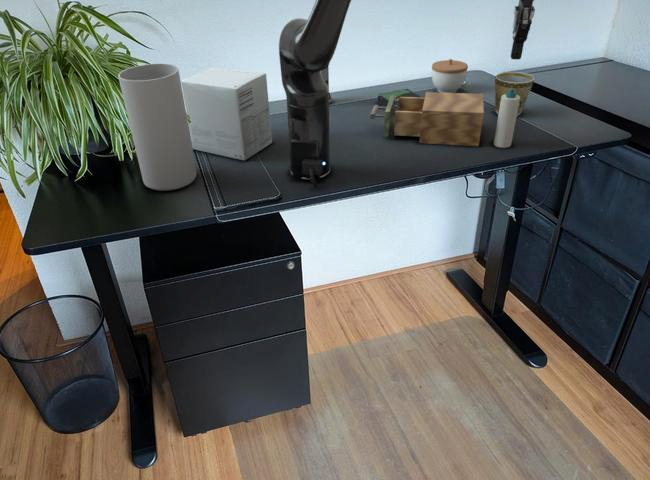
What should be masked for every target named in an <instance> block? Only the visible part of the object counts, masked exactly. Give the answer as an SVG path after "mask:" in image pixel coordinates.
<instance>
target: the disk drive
mask: <svg viewBox="0 0 650 480" xmlns="http://www.w3.org/2000/svg"><path fill="white" fill-rule="evenodd" d="M391 95H395V111H399V102H400V97H419V98H423V97H422V96H420V95H418V94H417V93H415V92H414V91H412V90H410V89H409V88H405V89H399V90H393V91H388V92H383V93H381V92H380V93H378V95H377V102H378V103H379V104H380V105H382V107H387V105H388V102H389V99H390V97H391ZM394 115H395V113H394Z"/></svg>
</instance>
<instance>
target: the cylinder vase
mask: <svg viewBox="0 0 650 480" xmlns="http://www.w3.org/2000/svg"><path fill="white" fill-rule="evenodd" d="M117 77H118V81H119V86H120V91H121V95H122V98H123V103H124V106H125V112H126V116H127V119H128V123H129V128H130V133H131V136H132V140H133V144H134V145H133V146H134V149H135V153H136V157H137V162H138V165H139V170H140V174H141V179H142V182H143V185H144V186H145V187H146V188H149V189H150V190H153V191H161V192H168V191H174V190H179V189H182V188H184V187H187V186H189V185H190V184H192V183H193V182H194V181H195V180H196V178H197V168H196V163H195V156H194V150H193V148H192V142H191V136H190V130H189V125H188V118H187V113H186V107H185V101H184V95H183V89H182V84H181V81H182V80H181V75H180V69H179V67H178V66H177V65H175V64H170V63H147V64H140V65H135V66H132V67H128V68H126V69H124V70H121V71H120V72H119V73H118V74H117Z"/></svg>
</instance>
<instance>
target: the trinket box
mask: <svg viewBox="0 0 650 480" xmlns="http://www.w3.org/2000/svg"><path fill="white" fill-rule="evenodd" d="M468 68H469V65H468V63H466V62H464V61H460V60H453V58H449V59H445V60H439V61H435V62H433V63H432V64H431V82H432V85H433V86H434V88H435V89H436V91H437V92H440V93H457V91H458V90H459V89H461V87H462V86H463V84H464V83H465V80H466V78H467V75H468V74H467V72H468Z"/></svg>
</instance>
